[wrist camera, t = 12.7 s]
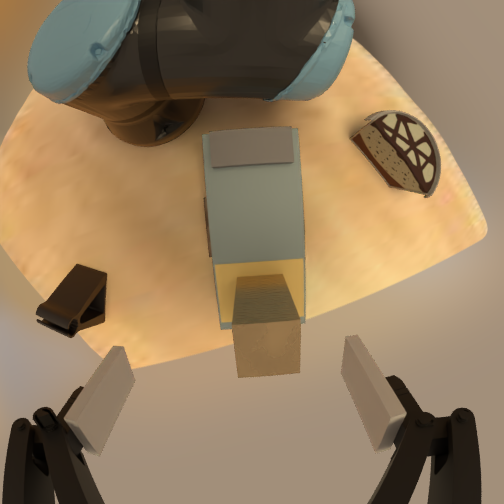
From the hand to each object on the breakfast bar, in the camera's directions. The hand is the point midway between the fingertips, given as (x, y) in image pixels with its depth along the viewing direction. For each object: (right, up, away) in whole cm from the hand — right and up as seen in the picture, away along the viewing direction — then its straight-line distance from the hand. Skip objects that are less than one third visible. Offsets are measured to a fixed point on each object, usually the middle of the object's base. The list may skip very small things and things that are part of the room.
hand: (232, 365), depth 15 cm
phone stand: (-26, 0, +25) cm, 36 cm away
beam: (+2, +9, +15) cm, 18 cm away
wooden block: (+2, +1, +16) cm, 16 cm away
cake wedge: (+20, +21, +21) cm, 36 cm away
